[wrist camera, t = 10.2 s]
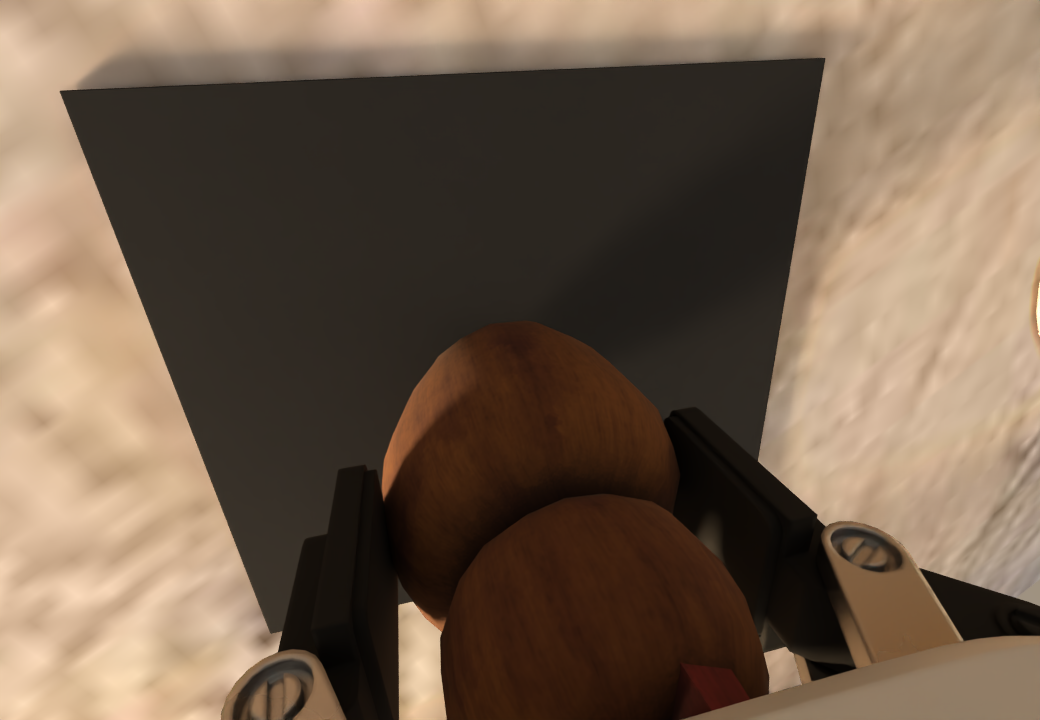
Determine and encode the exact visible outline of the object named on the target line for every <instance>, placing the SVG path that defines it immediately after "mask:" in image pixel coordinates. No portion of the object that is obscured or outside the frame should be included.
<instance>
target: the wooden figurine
mask: <svg viewBox="0 0 1040 720" xmlns="http://www.w3.org/2000/svg"><path fill="white" fill-rule="evenodd" d="M680 475H681V474H680V470H679V466H678V462H677V458H676V454H675V450H674V446H673V444H672V442H671V439H670V437H669V435H668V432H667V430H666V428H665V425H664V423H663V420H662V418H661V416H660V413H659V411H658V409H657V408H656V407H655V406H654V405H653V404H652V403H651V402H650V401H649V400H648V399H647V398H646V397H645V396H644V395H643V394H642V393H641V392H640V391H639V390H638V389H637V388H636V387H635V386H634V385H633V384H632V383H631V382H630V381H629V380H628V379H627V378H626V377H625V376H624V375H622V374H621V373H620V372H619V371H618V370H617V369H616V368H615V367H614V366H613V365H612V364H611V363H610V362H609V361H608V360H606V359H605V358H604V357H603V356H601V355H600V354H599V353H598V352H596V351H595V350H594V349H593V348H592V347H590V346H588V345H586V344H584V343H582V342H581V341H579V340H577V339H575V338H573V337H571V336H568V335H566V334H564V333H561V332H559V331H556V330H554V329H552V328H549V327H547V326H544V325H542V324H540V323H537V322H532V321H515V322H505V323H494V324H489V325H487V326H485V327H483V328H481V329H479V330H477V331H475V332H473V333H471V334H469V335H467V336H465V337H463V338H461V339H459V340H458V341H457V342H456V343H454V344H453V345H452V346H451V347H449V348H448V349H447V350H446V351H445V352H443V353H442V354H441V355H440V356H438V357H437V359H436V361H435V362H434V364H433V365H432V366H431V368H430V369H429V370H428V371H427V373H426V374H425V375H424V377H423V378H422V379H421V381H420V382H419V383H418V385H417V386H416V387H415V389H414V390H413V392H412V394H411V396H410V398H409V400H408V402H407V404H406V406H405V409H404V411H403V413H402V415H401V418H400V420H399V422H398V424H397V427H396V429H395V431H394V433H393V436H392V438H391V441H390V444H389V447H388V450H387V453H386V456H385V458H384V466H383V478H382V493H383V501H384V509H385V517H386V525H387V532H388V538H389V544H390V549H391V555H392V561H393V565H394V567H395V570H396V573H397V575H398V578H399V580H400V583H401V585H402V587H403V588H404V590H405V591H406V593H407V594H408V595H409V597H410V598H411V599H412V601H413V602H414V603H415V605H416V606H417V607H418V609H419V610H420V611H421V613H422V614H423V615H424V617H425V618H426V619H427V620H428V621H430V622H431V623H432V624H433V625H434V626H436V627H437V628H438V629H439V630H440V631H441V632H442V634H441V637H440V647H441V676H442V684H443V692H444V700H445V708H446V715H447V720H682V719H686V718H689V717H693V716H696V715H699V714H703V713H706V712H710V711H713V710H716V709H720V708H723V707H727V706H730V705H733V704H737V703H740V702H744V701H747V700H750V699H754V698H757V697H761V696H764V695H768V694H769V674H768V669H767V665H766V661H765V657H764V653H763V649H762V645H761V642H760V639H759V636H758V633H757V630H756V627H755V625H754V622H753V619H752V616H751V613H750V610H749V607H748V604H747V601H746V598H745V596H744V595H743V593H742V592H741V590H740V589H739V587H738V586H737V584H736V583H735V581H734V580H733V578H732V576H731V575H730V573H729V572H728V570H727V569H726V567H725V566H724V564H723V563H722V561H721V560H720V559H719V558H718V557H717V556H716V555H715V554H714V553H713V552H712V551H710V550H709V549H708V548H707V547H706V546H705V545H704V544H703V543H702V542H701V541H700V540H699V539H698V538H697V537H696V536H695V535H694V534H692V533H691V532H690V531H689V530H688V529H687V528H686V527H685V526H684V525H683V524H682V523H681V522H680V521H679V520H677V519H676V518H675V517H674V516H673V511H674V506H675V500H676V495H677V490H678V485H679V480H680Z"/></svg>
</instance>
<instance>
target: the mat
mask: <svg viewBox="0 0 1040 720" xmlns="http://www.w3.org/2000/svg"><path fill="white" fill-rule="evenodd" d="M824 63H825V58H814V59H791V60H768V61H744V62H721V63H697V64H674V65H651V66H627V67H604V68H581V69H557V70H534V71H511V72H487V73H464V74H441V75H417V76H394V77H371V78H347V79H324V80H300V81H277V82H254V83H230V84H207V85H184V86H160V87H137V88H114V89H90V90H67V91H60V94H61V96H62V99H63V101H64V104H65V106H66V109H67V112H68V114H69V117H70V119H71V122H72V124H73V127H74V130H75V132H76V135H77V137H78V140H79V142H80V145H81V148H82V150H83V153H84V155H85V158H86V160H87V163H88V166H89V168H90V171H91V173H92V176H93V178H94V181H95V184H96V186H97V189H98V191H99V194H100V196H101V199H102V202H103V204H104V207H105V209H106V212H107V214H108V217H109V220H110V222H111V225H112V227H113V230H114V232H115V235H116V238H117V240H118V243H119V245H120V248H121V250H122V253H123V256H124V258H125V261H126V263H127V266H128V268H129V271H130V274H131V276H132V279H133V281H134V284H135V286H136V289H137V292H138V294H139V297H140V299H141V302H142V304H143V307H144V310H145V312H146V315H147V317H148V320H149V322H150V325H151V328H152V330H153V333H154V335H155V338H156V340H157V343H158V346H159V348H160V351H161V353H162V356H163V358H164V361H165V364H166V366H167V369H168V371H169V374H170V376H171V379H172V382H173V384H174V387H175V389H176V392H177V394H178V397H179V400H180V402H181V405H182V407H183V410H184V412H185V415H186V418H187V420H188V423H189V425H190V428H191V430H192V433H193V436H194V438H195V441H196V443H197V446H198V448H199V451H200V454H201V456H202V459H203V461H204V464H205V466H206V469H207V472H208V474H209V477H210V479H211V482H212V484H213V487H214V490H215V492H216V495H217V497H218V500H219V502H220V505H221V508H222V510H223V513H224V515H225V518H226V520H227V523H228V526H229V528H230V531H231V533H232V536H233V538H234V541H235V544H236V546H237V549H238V551H239V554H240V556H241V559H242V562H243V564H244V567H245V569H246V572H247V574H248V577H249V580H250V582H251V585H252V587H253V590H254V592H255V595H256V598H257V600H258V603H259V605H260V608H261V610H262V613H263V616H264V618H265V621H266V623H267V626H268V628H269V631H270V633H271V634H272V633H276V632H280V631H283V628H284V623H285V619H286V615H287V610H288V606H289V602H290V597H291V593H292V588H293V584H294V580H295V575H296V571H297V567H298V562H299V558H300V553H301V549H302V545H303V542H304V540H305V539H306V538H309V537H314V536H319V535H324V534H327V532H328V526H329V520H330V514H331V509H332V503H333V497H334V491H335V486H336V480H337V474H338V470H339V469H342V468H347V467H353V466H359V465H364V464H365V465H366V467H367V470H374V469H376V470H377V474H378V478H379V483H380V487H381V492H382V478H383V466H384V458H385V456H386V453H387V450H388V447H389V444H390V441H391V438H392V436H393V433H394V431H395V429H396V427H397V424H398V422H399V420H400V418H401V415H402V413H403V411H404V409H405V406H406V404H407V402H408V400H409V398H410V396H411V394H412V392H413V390H414V389H415V387H416V386H417V385H418V383H419V382H420V381H421V379H422V378H423V377H424V375H425V374H426V373H427V371H428V370H429V369H430V368H431V366H432V365H433V364H434V362H435V361H436V359H437V357H438V356H440V355H441V354H442V353H443V352H445V351H446V350H447V349H448V348H449V347H451V346H452V345H453V344H454V343H456V342H457V341H458V340H459V339H461V338H463V337H465V336H467V335H469V334H471V333H473V332H475V331H477V330H479V329H481V328H483V327H485V326H487V325H489V324H494V323H505V322H515V321H532V322H537V323H540V324H542V325H544V326H547V327H549V328H552V329H554V330H556V331H559V332H561V333H564V334H566V335H568V336H571V337H573V338H575V339H577V340H579V341H581V342H582V343H584V344H586V345H588V346H590V347H592V348H593V349H594V350H595V351H596V352H598V353H599V354H600V355H601V356H603V357H604V358H605V359H606V360H608V361H609V362H610V363H611V364H612V365H613V366H614V367H615V368H616V369H617V370H618V371H619V372H620V373H621V374H622V375H624V376H625V377H626V378H627V379H628V380H629V381H630V382H631V383H632V384H633V385H634V386H635V387H636V388H637V389H638V390H639V391H640V392H641V393H642V394H643V395H644V396H645V397H646V398H647V399H648V400H649V401H650V402H651V403H652V404H653V405H654V406H655V407H656V408H657V409H658V411H659V413H660V416H661V418H662V420H663V423H664V420H665V418H667V417H669V416H670V413H671V411H673V410H678V409H683V408H689V407H697V408H698V409H700V410H701V411H702V412H703V413H704V414H705V415H706V416H707V417H709V418H710V419H711V420H712V421H713V422H714V423H715V424H716V425H718V426H719V427H720V428H721V429H722V430H723V431H724V432H725V433H726V434H728V435H729V436H730V437H731V438H732V439H733V440H734V441H735V442H737V443H738V444H739V445H740V446H741V447H742V448H743V449H744V450H745V451H747V452H748V453H749V454H750V455H751V456H752V457H753V458H754V459H755V460H757V461H758V456H759V450H760V444H761V438H762V432H763V426H764V421H765V415H766V409H767V403H768V397H769V391H770V385H771V379H772V373H773V367H774V361H775V355H776V349H777V343H778V337H779V331H780V325H781V319H782V313H783V307H784V301H785V295H786V289H787V283H788V277H789V272H790V266H791V260H792V254H793V248H794V242H795V236H796V230H797V224H798V218H799V212H800V206H801V200H802V194H803V188H804V182H805V176H806V170H807V164H808V158H809V152H810V146H811V140H812V134H813V129H814V123H815V117H816V111H817V105H818V99H819V93H820V87H821V81H822V75H823V69H824ZM382 496H383V493H382ZM408 602H412V599H411V598H410V597H409V595H408V594H407V593H406V591H405V590H404V588H403V587H402V585H401V583H400V580H399V578H398V605H399V604H404V603H408Z"/></svg>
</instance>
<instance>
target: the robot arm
mask: <svg viewBox="0 0 1040 720" xmlns="http://www.w3.org/2000/svg"><path fill="white" fill-rule="evenodd" d="M1036 316H1037V326H1038V333H1039V336H1040V283H1039V288H1038V297H1037V307H1036ZM664 425H665V428H666V430H667V432H668V435H669V437H670V439H671V442H672V444H673V446H674V450H675V454H676V458H677V462H678V466H679V470H680V474H681V475H680V480H679V485H678V490H677V495H676V500H675V506H674V511H673V516H674V517H675V518H676V519H677V520H679V521H680V522H681V523H682V524H683V525H684V526H685V527H686V528H687V529H688V530H689V531H690V532H691V533H692V534H694V535H695V536H696V537H697V538H698V539H699V540H700V541H701V542H702V543H703V544H704V545H705V546H706V547H707V548H708V549H709V550H710V551H712V552H713V553H714V554H715V555H716V556H717V557H718V558H719V559H720V560H721V561H722V563H723V564H724V566H725V567H726V569H727V570H728V572H729V573H730V575H731V576H732V578H733V580H734V581H735V583H736V584H737V586H738V587H739V589H740V590H741V592H742V593H743V595H744V596H745V598H746V601H747V604H748V607H749V610H750V613H751V616H752V619H753V622H754V625H755V627H756V630H757V633H758V636H759V639H760V642H761V645H762V649H763V653H765V652H768V651H772V650H776V649H779V648H783V647H787V648H788V650H789V651H790V652H792V653H794V658H795V662H796V665H797V669H798V672H799V676H800V680H801V683H802V685H799V686H795V687H792V688H788V689H785V690H781V691H778V692H774V693H771V694H768V695H764V696H761V697H757V698H754V699H750V700H747V701H744V702H740V703H737V704H733V705H730V706H727V707H723V708H720V709H716V710H713V711H710V712H706V713H703V714H699V715H696V716H693V717H689V718H686V719H682V720H1040V606H1038V605H1035V604H1032V603H1030V602H1027V601H1024V600H1020V599H1017V598H1014V597H1011V596H1008V595H1004V594H1001V593H998V592H995V591H992V590H988V589H985V588H982V587H979V586H975V585H972V584H969V583H966V582H963V581H959V580H956V579H953V578H950V577H947V576H943V575H940V574H937V573H934V572H930V571H927V570H924V569H921V568H918V566H917V564H916V563H915V561H914V560H913V558H912V556H911V555H910V553H909V552H908V551H907V550H906V548H905V547H904V546H903V545H902V544H901V543H900V542H899V541H897V540H896V539H895V538H893V537H892V536H891V535H889V534H887V533H885V532H883V531H882V530H880V529H878V528H875V527H872V526H869V525H866V524H863V523H857V522H852V521H839V522H835V523H831V524H829V525H828V526H827V527H826V526H825V525H823V524H822V523H821V522H820V521H819V520H818V519H817V514H816V513H815V512H814V511H812V510H811V509H810V508H809V507H808V506H807V505H806V504H805V503H803V502H802V501H801V500H800V499H799V498H798V497H797V496H796V495H795V494H793V493H792V492H791V491H790V490H789V489H788V488H787V487H786V486H785V485H783V484H782V483H781V482H780V481H779V480H778V479H777V478H776V477H774V476H773V475H772V474H771V473H770V472H769V471H768V470H767V469H766V468H764V467H763V466H762V465H761V464H760V463H759V462H758V461H757V460H755V459H754V458H753V457H752V456H751V455H750V454H749V453H748V452H747V451H745V450H744V449H743V448H742V447H741V446H740V445H739V444H738V443H737V442H735V441H734V440H733V439H732V438H731V437H730V436H729V435H728V434H726V433H725V432H724V431H723V430H722V429H721V428H720V427H719V426H718V425H716V424H715V423H714V422H713V421H712V420H711V419H710V418H709V417H707V416H706V415H705V414H704V413H703V412H702V411H701V410H700V409H698V408H697V407H689V408H683V409H678V410H673V411H671V413H670V416H669V417H667V418H665V420H664ZM221 720H399V655H398V575H397V573H396V570H395V567H394V565H393V561H392V555H391V549H390V544H389V538H388V532H387V525H386V517H385V509H384V501H383V496H382V492H381V487H380V483H379V478H378V474H377V470H376V469H374V470H367V467H366V465H365V464H364V465H359V466H353V467H347V468H342V469H339V470H338V474H337V480H336V486H335V491H334V497H333V503H332V509H331V514H330V520H329V526H328V532H327V534H324V535H319V536H314V537H309V538H306V539H305V540H304V542H303V545H302V549H301V553H300V558H299V562H298V567H297V571H296V575H295V580H294V584H293V588H292V593H291V597H290V602H289V606H288V610H287V615H286V619H285V623H284V628H283V632H282V636H281V641H280V645H279V650H278V652H277V653H275V654H273V655H271V656H269V657H266V658H264V659H262V660H261V661H260V662H258V663H257V664H255V665H254V666H253V667H251V668H250V669H248V670H247V671H246V672H245V674H244V675H243V676H242V677H241V678H240V679H239V680H238V681H237V682H236V683H235V685H234V686H233V688H232V689H231V691H230V693H229V694H228V696H227V697H226V700H225V703H224V706H223V709H222V712H221Z"/></svg>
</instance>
